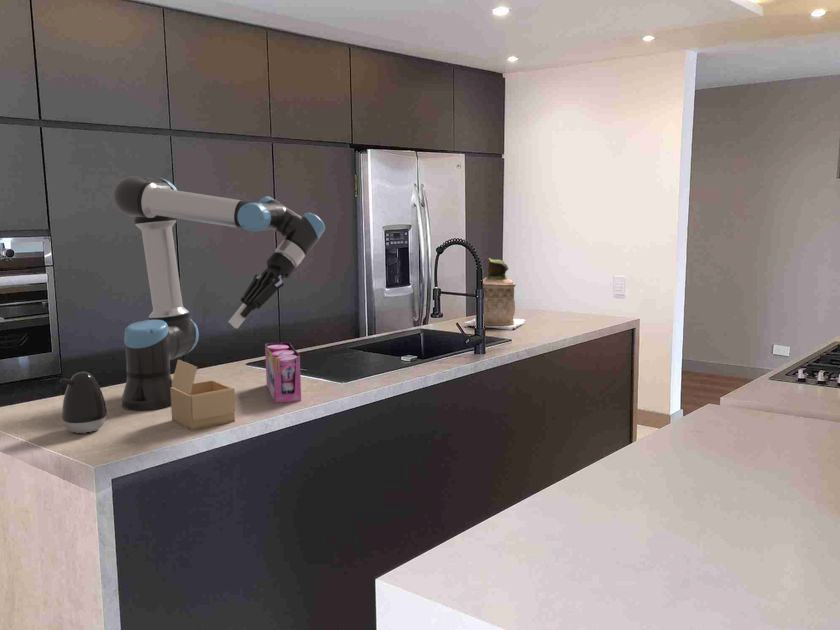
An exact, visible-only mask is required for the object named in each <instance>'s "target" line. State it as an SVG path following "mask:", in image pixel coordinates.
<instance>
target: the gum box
mask: <svg viewBox="0 0 840 630" xmlns="http://www.w3.org/2000/svg"><path fill="white" fill-rule="evenodd" d="M264 351H265V352H264V353H265V374H266V378H265V379H266V387H267V389H268V390H269V393H270V395H271V397H272V399H274V400H273V401H274V403H275V404H277V403H278V402H280V403H291V402H292V401H293V402H301V401H302V386H301V385H302V384H301V383H302V381H301V356H300V353H299V352H298V351H297V350H296V349H295V348H294V347H293V345H292V344H291V343H290V341H289V342H288V341H286V342H284V341H283V342H271V343H269V342H268V343H265V346H264Z"/></svg>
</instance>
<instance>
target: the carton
mask: <svg viewBox="0 0 840 630" xmlns="http://www.w3.org/2000/svg"><path fill="white" fill-rule="evenodd" d="M170 391H171V406H170V409H171V421H173V422H175V424H177V425H180V426H182V427H184V428H185V427H186V428H185V429H187V428H188V429H187V430H189V431H191V432H193V431H197V429H198V430H201V429H205V428H211V427H215V426H220V425H224V424H228V423H229V424H230V423H234V422H236V418H235V417H236V415H235V414H236V399H235V398H236V397H235V396H236V395H235V388H234V387H232V386H229V385H227V384H224V383H222V382H219V381H217V380H215V379H210V380H205V381H199V382H193V386H192V390H191V394H189V393H186V392H184V391H182V390H180V389H178V388H176V387H170ZM192 430H193V431H192Z"/></svg>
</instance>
